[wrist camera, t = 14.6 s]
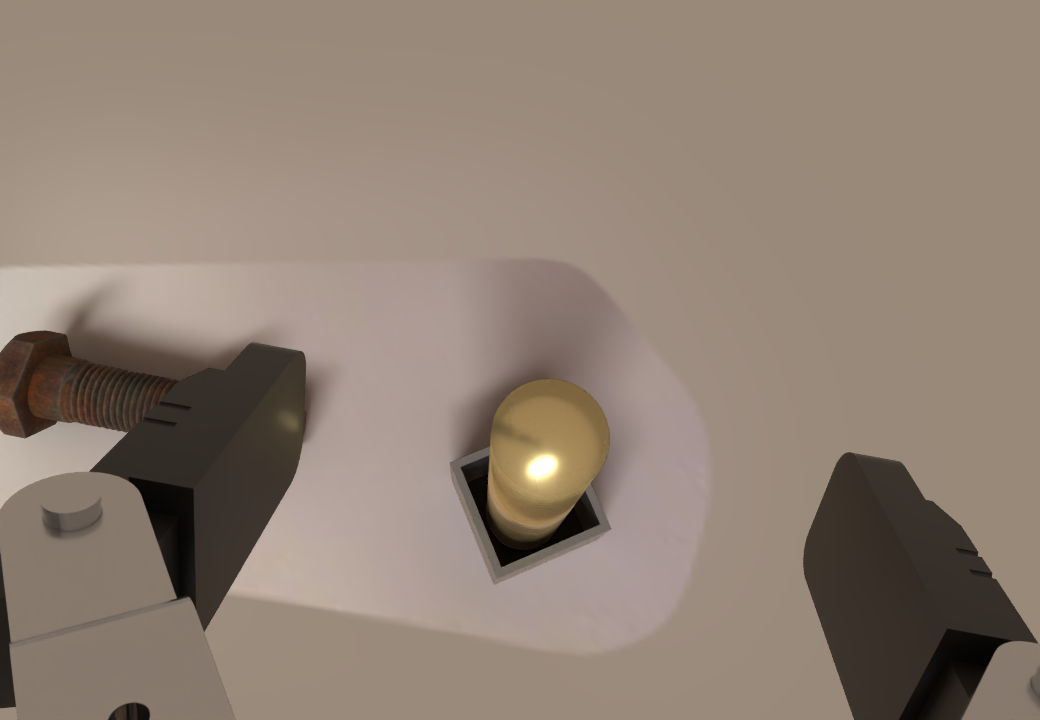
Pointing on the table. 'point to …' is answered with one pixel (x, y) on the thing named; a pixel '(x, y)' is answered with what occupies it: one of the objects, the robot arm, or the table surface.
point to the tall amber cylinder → (542, 459)
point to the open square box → (593, 529)
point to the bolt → (69, 388)
